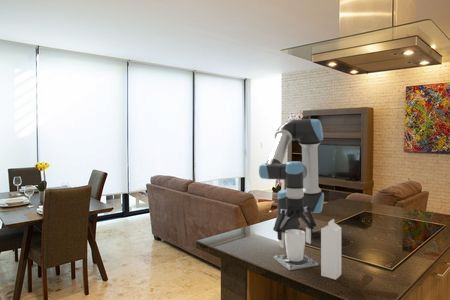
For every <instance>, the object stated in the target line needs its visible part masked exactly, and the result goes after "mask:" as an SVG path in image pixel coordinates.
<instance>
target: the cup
mask: <svg viewBox="0 0 450 300" xmlns="http://www.w3.org/2000/svg"><path fill="white" fill-rule="evenodd" d="M284 245H285V251H286V254H287V258H288V260H290V261H294V262H299V261H302V260H303V255H305V246H306V231H305V230H302V229H300V230H298V229H289V230H286V231H284Z"/></svg>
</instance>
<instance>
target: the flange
mask: <svg viewBox="0 0 450 300" xmlns="http://www.w3.org/2000/svg"><path fill="white" fill-rule="evenodd" d="M273 259H274V260H276V262H277V263H279V264H280V265H281V266H283V267H285V268H286V269H287V270H288V271H295V270H299V269H305V268H310V267H316V266H319V262H317V261H315V260H314V259H312V258H311V257H309V256H307V255H306V254H304V255H303V260H302V261H299V262H294V261H290V260H288V258H287V253H285V254H277V255H273Z"/></svg>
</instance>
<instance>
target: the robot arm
mask: <svg viewBox="0 0 450 300" xmlns="http://www.w3.org/2000/svg"><path fill="white" fill-rule="evenodd" d="M323 131H324V130H323V125H322V123H321V120H320V119H318V118H317V119H316V118H307V119H304V118H303V119H290V120H287V121H286V122H284V123H282V124H281V125H280V126H279V127H278V129H277V130H276V132H275V134H274V142H273V144H272V148H271V150H270V152H269V155H268V158H267V160H266V162H263V163H260V165H259V168H258V175H259V177H260V178H261V179H263V180H264V179H265V180H281V181H282V180H283V181H285V189H281V190H279V191H278V192H277V198H276V200H277V206H276V207H277V216H276V219H275V222H274V226H273V229H272V230H273V231H275V232H276V233H277V240H278V241H279V243H278V246H279V247H280V248H282V249H285V231H286V230H289V229H298V230H301V222H300V219H301V220H302V222H303V223H304V224H305V226H306V227H305V237H306V241H305V243H308V244H311V243H312V235H313V229H314V228H315V227H317V224H316V221H315V219H314V217H313V215H312V214H320V213H322V210H323V206H324V198H325V194H324V192H322V189H321V188H320V187H319V154H318V153H319V151H318V148H319V147H318V146H319V145H320V144H321V141H323V140H324V133H323ZM292 141H298V144H299V145H300V146H301V157H302V159H301V161H294V160H293V161H287V162H286V163H284V160H285V157H286V153H287V151H288V146H289V144H290V143H291V142H292ZM304 213H305V215H306V216H305V215H304ZM306 217H307V218H306Z"/></svg>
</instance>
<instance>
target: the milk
mask: <svg viewBox="0 0 450 300" xmlns="http://www.w3.org/2000/svg"><path fill="white" fill-rule="evenodd" d="M327 223H328V224H327V225H326V226H324V227H321V228H320V271H321V272H320V276H321V277H324V278H329V279H332V280H334V281H335V280H337V279H339V277H341V276H342V227H341V226H340V225H339V224H337V223H336V222H335V219H334V218H332V219H331V220H330V221H329V220H328V222H327Z"/></svg>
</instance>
